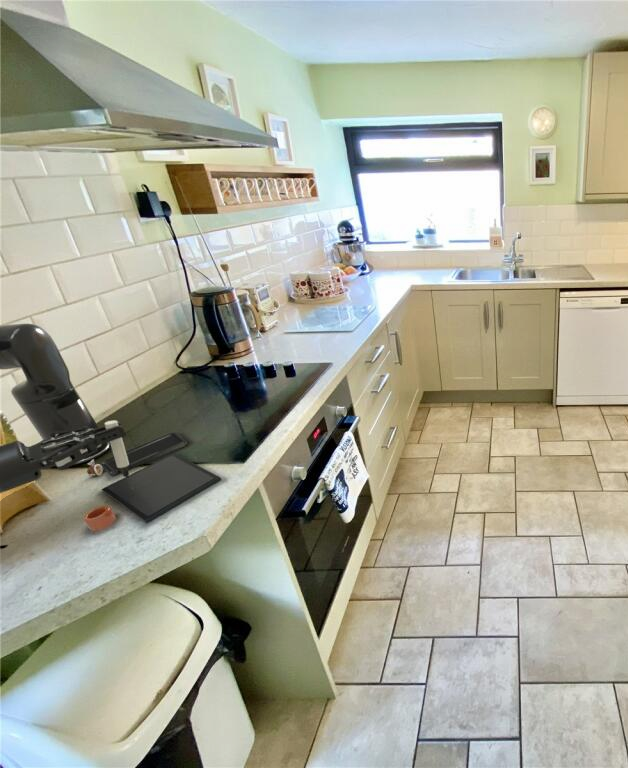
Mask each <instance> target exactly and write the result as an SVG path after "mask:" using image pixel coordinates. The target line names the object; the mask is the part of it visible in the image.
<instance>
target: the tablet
mask: <svg viewBox="0 0 628 768" xmlns="http://www.w3.org/2000/svg"><path fill="white" fill-rule="evenodd" d="M221 481H222V479H221V477H220V476H219V475H216V474H214V473H213V472H211V471H209V470H207V469H206V468H203V467H202V466H199V465H197V464H196V463H193V462H192V461H190V460H188V459H187V458H184V457H182V456H180V455H178V454H176V452H175V453H172V454H170V455H167V456H166V457H164V458H162V459H159V460H158V461H155V462H153V463H151V464H150V465H147V466H145V467H143V468H141V469H139V470H137V471H135V472H133V473H131V474H129V475H128V476H127V477H124V478H121V479H119V480H117V481H115V482H113V483H110V484H109V485H107V486H105V487H103V488H101V491H102V493H104V494H105V495H106V496H108V497H109V498H110V499H111V500H114V501H115V502H116V503H118V505H120V506H122V507H123V508H124V509H126V510H127V511H128V512H130V513H131V514H132V515H134V516H136V517H137V518H138V519H139V520H140V521H142V522H144V523H145V524H150V523H151V522H153V521H154V520H156V519H158V518H159V517H162V516H163V515H165V514H166V513H168V512H170V511H171V510H173V509H175V508H177V507H178V506H180V505H182V504H183V503H185V502H187V501H189V500H190V499H192V498H194V497H195V496H197V495H199V494H200V493H202V492H204V491H206V490H207V489H209V488H211V487H212V486H214V485H216V484H217V483H219V482H221Z"/></svg>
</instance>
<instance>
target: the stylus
mask: <svg viewBox="0 0 628 768" xmlns="http://www.w3.org/2000/svg"><path fill="white" fill-rule="evenodd" d="M117 421H118V420H116V419H115V420H107V421H105V422H104V425H105V427H106V429H109V428H113V427H115V426H118V422H119V421H118V422H117ZM109 444H110V448H111V452H112V454H113V457H114V458H115V461H116V465H117V467H118V468H121V471H122V474H121V475H122V477H124V478H125V477H127V476H129V475H130V473H129V472H130V471H128V469H127V466H128V465H129V461H128V458H127V454H126V452H127V451H126V447H125V444H124V440H123V437H121V438H118V439H115V440H112V441H110V442H109Z"/></svg>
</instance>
